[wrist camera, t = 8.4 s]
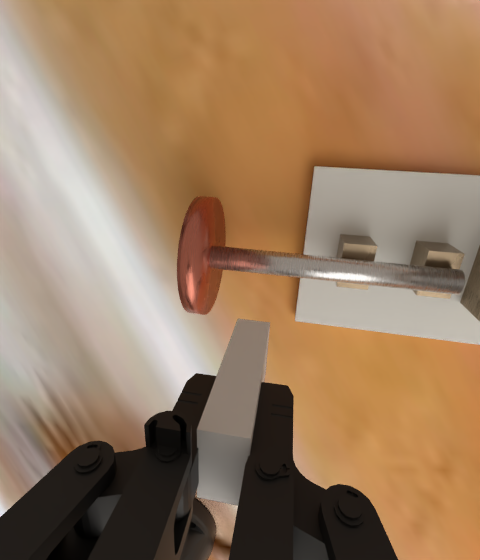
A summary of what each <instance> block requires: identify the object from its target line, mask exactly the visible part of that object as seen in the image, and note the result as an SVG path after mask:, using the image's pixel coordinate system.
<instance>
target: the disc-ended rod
mask: <svg viewBox="0 0 480 560" xmlns="http://www.w3.org/2000/svg"><path fill="white" fill-rule="evenodd" d="M223 270H232V271H241V272H251V273H260V274H269V275H278V276H288V277H297V278H306V279H316V280H325V281H334V282H343V283H353V284H362V285H371V286H380V287H390V288H399V289H408V290H417V291H427V292H436V293H445V294H455V295H458V294H460V293H461V291H462V290H463V288H464V284H465V275H464V272H463V271H462V270H459V269H449V268H439V267H428V266H418V265H408V264H397V263H387V262H377V261H366V260H356V259H346V258H336V257H325V256H315V255H305V254H294V253H284V252H274V251H263V250H253V249H243V248H232V247H225V219H224V213H223V208H222V205H221V202H220V201H219V199H218V198H216V197H203V196H199V197H196V198H195V199H194V200H193V201H192V203H191V204H190V206H189V208H188V210H187V213H186V216H185V219H184V222H183V226H182V230H181V235H180V240H179V248H178V259H177V281H178V291H179V296H180V300H181V303H182V306H183V308H184V309H185V310H186V311H187V312H189V313H195V314H203V315H205V314H208V313H209V312H210V310H211V309H212V307H213V305H214V303H215V300H216V297H217V294H218V291H219V287H220V282H221V277H222V271H223Z"/></svg>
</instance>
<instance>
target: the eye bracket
mask: <svg viewBox="0 0 480 560" xmlns="http://www.w3.org/2000/svg"><path fill="white" fill-rule="evenodd" d="M376 250H377V245H376V244H375V242H374V241H373V240H372V238H371V237H369V236H358V235H346V234H340V238H339V244H338V250H337V256H336V258H346V259H356V260H366V261H374V260H375V255H376ZM464 255H465V254H464V253H463V252H461V251H459V250H458V249H456V248H455V247H453V246H452V245H450V244H448V243H439V242H428V241H416V243H415V247H414V251H413V255H412V258H411V262H410V265H418V266H428V267H439V268H449V269H459V270H460V267H461V264H462V261H463V258H464ZM336 286H337V287H345V288H354V289H364V290H368V287H369V285H362V284H353V283H343V282H336ZM413 292H414V293H415V294H416V295H418V296H427V297H436V298H445V299H450V297H451V294H445V293H436V292H427V291H417V290H413ZM460 303H461V304H462V305H463V306H464V307H465V308H466V309H467V310H468V311H469V312H470V313H471V314H472V315H473V316H474V317H475V318H476V319H477V320H478V321H480V246H479V249H478V252H477V255H476V258H475V261H474V263H473V266H472V269H471V272H470V275H469V278H468V281H467V284H466V287H465V290H464V292H463V295H462V298H461V301H460Z"/></svg>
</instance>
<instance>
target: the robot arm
mask: <svg viewBox="0 0 480 560" xmlns="http://www.w3.org/2000/svg"><path fill="white" fill-rule="evenodd" d="M269 329H270V322H261V321H253V320H245V319H238V320H237V322H236V325H235V328H234V330H233V333H232V336H231V339H230V341H229V344H228V347H227V349H226V352H225V355H224V357H223V360H222V363H221V366H220V368H219V371H218V374H217V376H211V375H204V374H197V373H196V374H195V375H194V376H193V377H191V378H190V379H189V380H188V381H187V382H186V384H185V386H184V388H183V390H182V393H181V394H180V396H179V398H178V402H177V403H176V405H175V407H174V409H173V411H165V412H161V413H158V414H156V415H154V416H153V417H151V418H150V419H149V420H148V421H147V422H146V423H145V425H144V428H145V439H146V447H144V448H142V449H138V450H133V451H126V452H117V453H114V450H113V447H112V446H111V445H109V444H108V443H107V442H102V441H93V442H88V443H86V444H83V445H81V446H79V447H77V448H76V449H75V450H73V451H72V452H71V453H69V454H68V455H67V456H66V457H65V458H64V459H63V460H62V461H61V462H60V463H59V464H57V465H56V466H55V467H54V468H53V469H52V470H51V471H50V472H49V473H48V474H47V475H46V476H44V477H43V478H42V479H41V480H40V481H39V482H38V483H37V484H36V485H35V486H34V487H33V488H31V489H30V490H29V491H28V492H27V493H26V494H25V495H24V496H23V497H22V498H21V499H20V500H18V501H17V502H16V503H15V504H14V505H13V506H12V507H11V508H10V509H9V510H8V511H7V512H5V513H4V514H3V515H2V516H1V517H0V560H208V558H209V556H210V554H211V552H212V548H213V544H214V540H215V535H216V526H215V522H214V520H213V518H212V516H211V515H210V513H209V512H208V510H207V509H206V508H205V507H204V506H203V505H202V504H201V503H199V502H198V501H197V500H196V499H194V497H195V493H196V490H197V497H198V498H203V499H208V500H213V501H218V502H223V503H227V504H232V505H237V506H238V510H237V515H236V521H235V527H234V533H233V538H232V544H231V550H230V556H229V560H398V558H397V556H396V554H395V552H394V550H393V547H392V545H391V543H390V541H389V538H388V536H387V534H386V532H385V530H384V527H383V525H382V523H381V521H380V518H379V516H378V514H377V512H376V510H375V508H374V506H373V505H372V503H371V502H370V500H369V499H368V498H367V497H366V496H365V495H364V494H363V493H361V492H360V491H359V490H357V489H355V488H353V487H351V486H348V485H341V484H338V485H334V486H330V487H329V488H328V489H327V490H326V489H324V488H322V487H320V486H318V485H316V484H314V483H312V482H311V481H309V480H308V479H306V478H305V477H304V476H303V475H302V474H301V473H300V472H299V470H298V469H297V467H296V466H295V463H294V461H293V394H292V393H291V391H290V389H289V387H288V386H286V385H279V384H272V383H265V382H264V380H265V373H266V363H267V351H268V340H269Z"/></svg>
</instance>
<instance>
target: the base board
mask: <svg viewBox="0 0 480 560" xmlns="http://www.w3.org/2000/svg"><path fill="white" fill-rule="evenodd" d="M340 234H346V235H358V236H369V237H371V238H372V240H373V241H374V242H375V244H376V245H377V250H376V255H375V260H374V261H377V262H387V263H397V264H408V265H410V262H411V258H412V255H413V251H414V247H415V243H416V241H428V242H439V243H448V244H450V245H452V246H453V247H455V248H456V249H458V250H459V251H461V252H463V253H464V254H465V255H464V258H463V261H462V264H461V267H460V270H462V271H463V272H464V275H465V284H464V288H463V290H462V291H461V293H460V294H458V295H455V294H451V297H450V299H445V298H436V297H427V296H418V295H416V294H415V293H414V292H413V290H408V289H399V288H390V287H380V286H371V285H369V287H368V290H364V289H354V288H345V287H337V286H336V282H334V281H325V280H316V279H306V278H300V282H299V290H298V298H297V306H296V314H295V321H299V322H306V323H314V324H322V325H330V326H338V327H345V328H353V329H361V330H369V331H377V332H384V333H392V334H400V335H408V336H416V337H423V338H431V339H439V340H447V341H455V342H462V343H470V344H478V345H480V321H478V320H477V319H476V318H475V317H474V316H473V315H472V314H471V313H470V312H469V311H468V310H467V309H466V308H465V307H464V306H463V305H462V304H461V303H460V301H461V298H462V295H463V292H464V290H465V287H466V284H467V281H468V278H469V275H470V272H471V269H472V266H473V263H474V261H475V258H476V255H477V252H478V249H479V246H480V175H467V174H449V173H431V172H413V171H395V170H377V169H359V168H341V167H323V166H314V172H313V180H312V187H311V195H310V203H309V211H308V219H307V227H306V235H305V243H304V251H303V254H305V255H315V256H325V257H336V256H337V250H338V244H339V238H340Z"/></svg>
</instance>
